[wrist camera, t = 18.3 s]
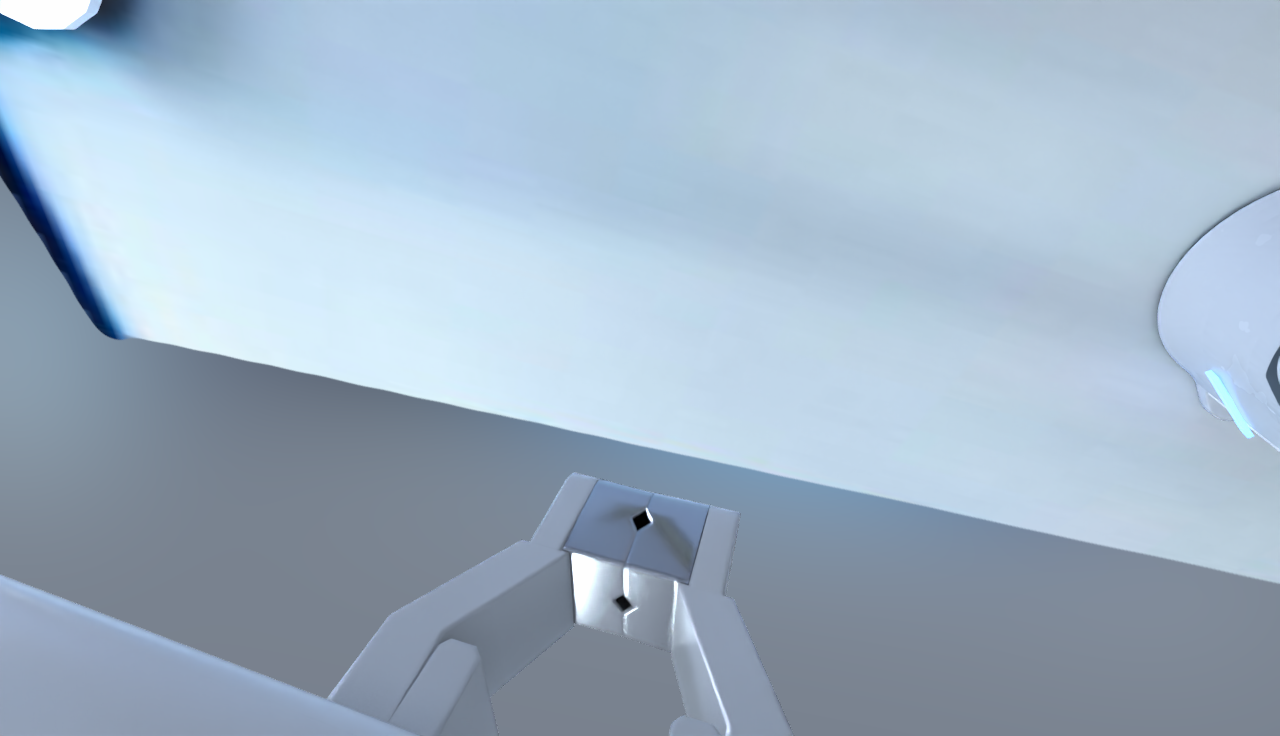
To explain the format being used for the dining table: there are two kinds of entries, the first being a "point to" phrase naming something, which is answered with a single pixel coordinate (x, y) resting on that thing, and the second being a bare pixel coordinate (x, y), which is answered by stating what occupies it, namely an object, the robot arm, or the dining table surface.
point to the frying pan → (50, 12)
